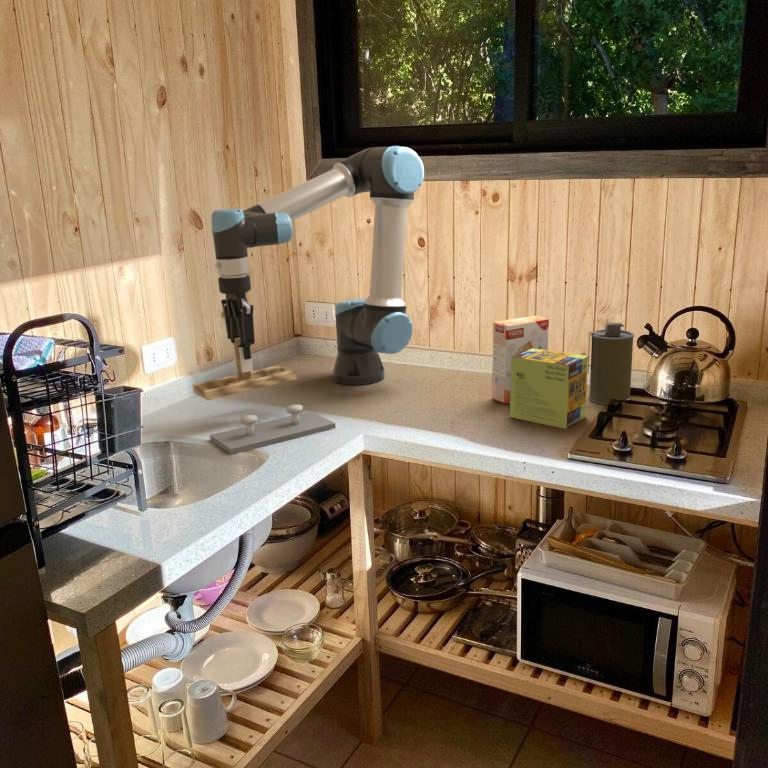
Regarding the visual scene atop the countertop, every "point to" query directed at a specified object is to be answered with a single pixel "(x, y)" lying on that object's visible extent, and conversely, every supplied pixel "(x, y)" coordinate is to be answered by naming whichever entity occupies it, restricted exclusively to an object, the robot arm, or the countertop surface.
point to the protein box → (548, 387)
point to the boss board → (271, 430)
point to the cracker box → (514, 349)
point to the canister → (610, 364)
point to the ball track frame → (243, 380)
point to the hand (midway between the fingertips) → (244, 369)
